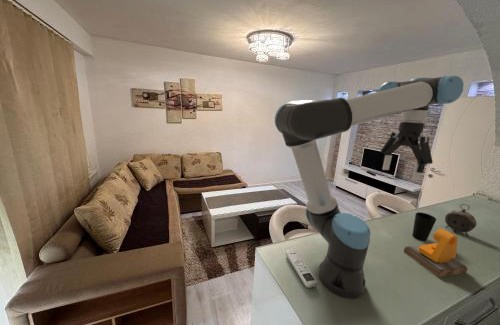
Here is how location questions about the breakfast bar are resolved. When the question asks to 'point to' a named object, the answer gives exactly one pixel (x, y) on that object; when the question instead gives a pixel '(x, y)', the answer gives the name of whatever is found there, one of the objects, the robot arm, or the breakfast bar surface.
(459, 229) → the alarm clock
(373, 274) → the breakfast bar surface
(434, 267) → the plinth
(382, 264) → the breakfast bar surface
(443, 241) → the bracket
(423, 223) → the cup
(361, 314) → the breakfast bar surface
